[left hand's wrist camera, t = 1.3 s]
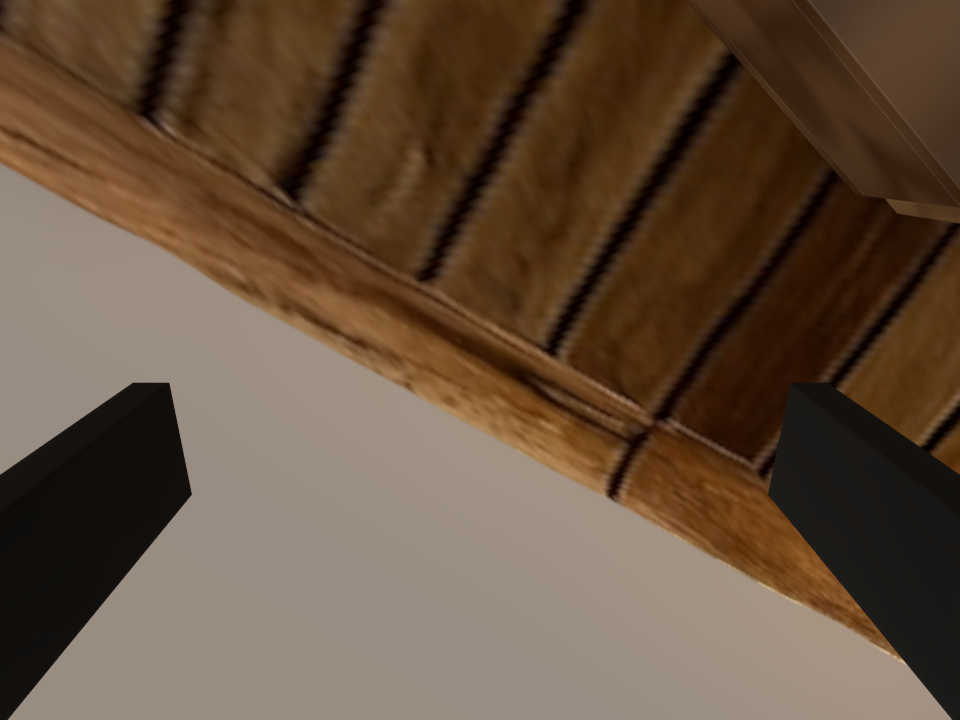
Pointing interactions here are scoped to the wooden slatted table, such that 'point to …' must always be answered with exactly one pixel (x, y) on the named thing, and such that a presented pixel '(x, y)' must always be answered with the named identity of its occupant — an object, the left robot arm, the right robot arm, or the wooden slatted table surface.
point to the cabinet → (860, 84)
